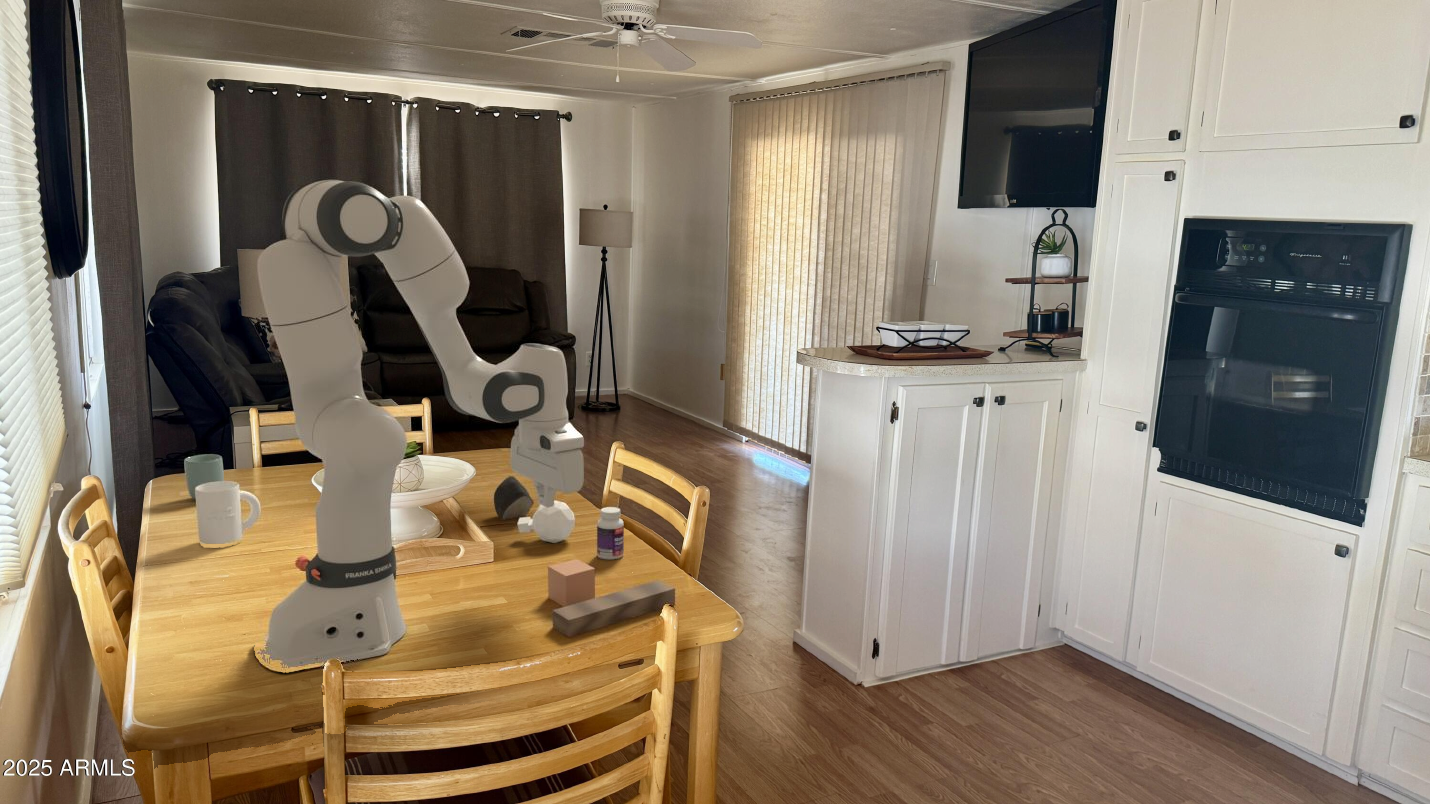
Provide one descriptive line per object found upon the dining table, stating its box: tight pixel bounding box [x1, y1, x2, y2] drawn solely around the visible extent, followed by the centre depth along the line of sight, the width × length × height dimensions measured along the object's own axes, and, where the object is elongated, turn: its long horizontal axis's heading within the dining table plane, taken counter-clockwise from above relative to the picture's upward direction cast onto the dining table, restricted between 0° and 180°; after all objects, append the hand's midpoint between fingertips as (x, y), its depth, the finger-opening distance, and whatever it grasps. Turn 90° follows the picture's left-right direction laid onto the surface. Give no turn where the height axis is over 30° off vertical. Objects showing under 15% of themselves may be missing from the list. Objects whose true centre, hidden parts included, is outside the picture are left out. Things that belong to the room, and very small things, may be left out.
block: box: [547, 558, 596, 607], centre depth 167 cm, size 6×6×6 cm
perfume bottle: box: [517, 499, 576, 544], centre depth 197 cm, size 9×9×12 cm
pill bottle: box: [596, 506, 625, 561], centre depth 189 cm, size 5×5×10 cm
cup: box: [183, 453, 225, 500], centre depth 221 cm, size 8×8×10 cm
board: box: [552, 579, 676, 638], centre depth 160 cm, size 22×5×3 cm, turn 131°
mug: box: [195, 480, 261, 544], centre depth 193 cm, size 8×12×12 cm
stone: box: [493, 475, 535, 521], centre depth 212 cm, size 8×8×10 cm
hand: (546, 505), depth 172 cm, fingers closed
